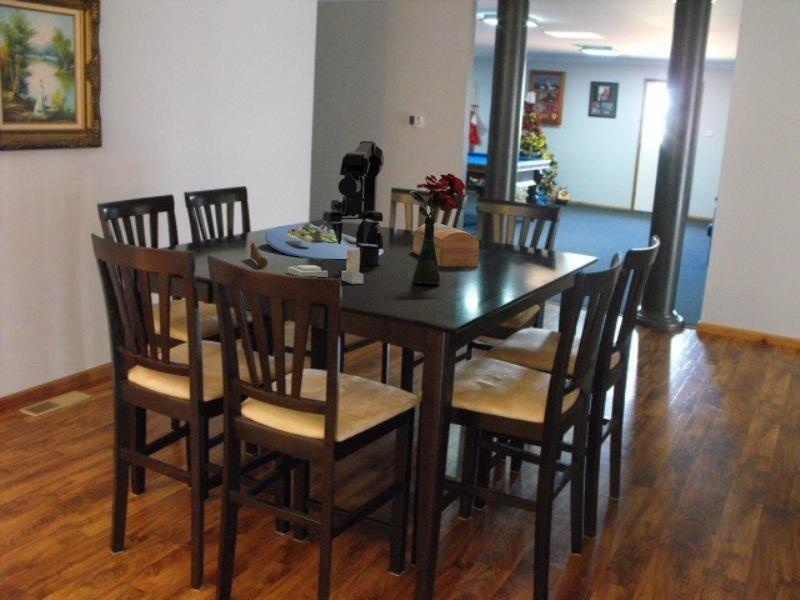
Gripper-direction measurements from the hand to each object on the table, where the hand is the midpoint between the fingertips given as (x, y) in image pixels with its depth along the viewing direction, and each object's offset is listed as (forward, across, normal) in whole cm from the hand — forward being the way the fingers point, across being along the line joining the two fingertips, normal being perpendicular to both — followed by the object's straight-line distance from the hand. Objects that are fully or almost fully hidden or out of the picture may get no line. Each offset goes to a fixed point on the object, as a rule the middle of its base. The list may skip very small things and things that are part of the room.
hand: (352, 243), depth 258 cm
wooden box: (+13, -53, -26) cm, 61 cm away
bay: (+12, +10, -11) cm, 19 cm away
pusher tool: (+12, +1, +3) cm, 12 cm away
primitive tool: (+14, +17, -37) cm, 43 cm away
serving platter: (+14, -17, -56) cm, 60 cm away
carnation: (+12, -25, +9) cm, 29 cm away
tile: (+12, +9, -11) cm, 19 cm away
